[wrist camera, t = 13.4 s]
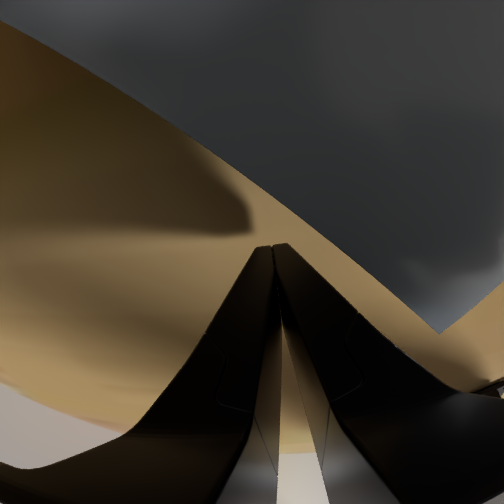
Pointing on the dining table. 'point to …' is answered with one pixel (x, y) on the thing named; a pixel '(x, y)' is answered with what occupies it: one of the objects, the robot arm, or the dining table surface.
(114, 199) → the dining table surface
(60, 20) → the slate slab
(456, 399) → the robot arm
